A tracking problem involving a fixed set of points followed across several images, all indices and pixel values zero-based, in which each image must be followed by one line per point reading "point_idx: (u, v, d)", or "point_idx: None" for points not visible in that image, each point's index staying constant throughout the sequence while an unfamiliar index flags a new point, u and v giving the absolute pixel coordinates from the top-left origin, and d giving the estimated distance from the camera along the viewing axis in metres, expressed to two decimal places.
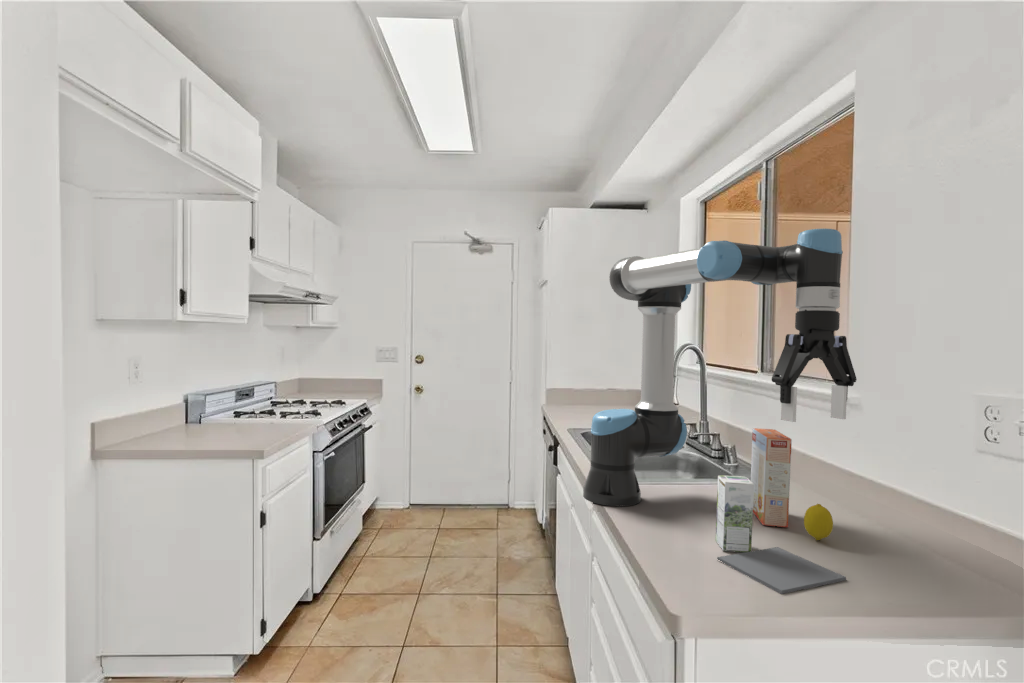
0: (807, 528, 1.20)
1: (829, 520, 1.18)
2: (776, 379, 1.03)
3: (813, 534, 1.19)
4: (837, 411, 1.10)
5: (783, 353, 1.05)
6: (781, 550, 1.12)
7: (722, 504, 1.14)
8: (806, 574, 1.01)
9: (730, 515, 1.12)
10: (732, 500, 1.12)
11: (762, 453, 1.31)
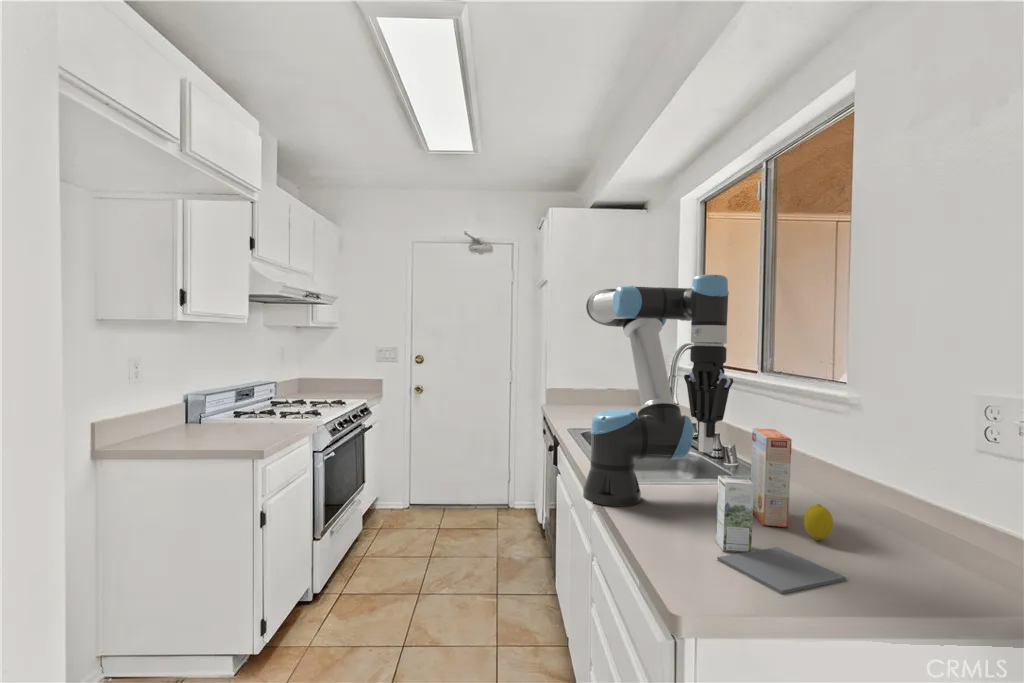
0: (807, 528, 1.20)
1: (829, 520, 1.18)
2: None
3: (813, 534, 1.19)
4: None
5: None
6: (781, 550, 1.12)
7: (722, 504, 1.14)
8: (806, 574, 1.01)
9: (730, 515, 1.12)
10: (732, 500, 1.12)
11: (762, 453, 1.31)
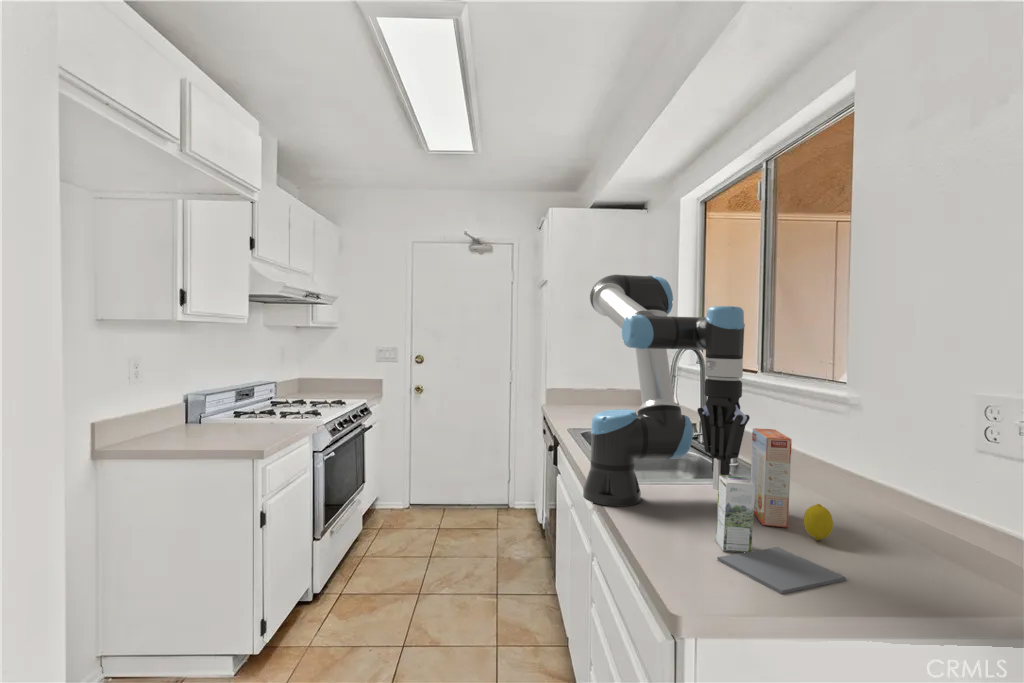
0: (807, 528, 1.20)
1: (829, 520, 1.18)
2: None
3: (813, 534, 1.19)
4: None
5: None
6: (781, 550, 1.12)
7: (723, 504, 1.13)
8: (806, 574, 1.01)
9: (731, 515, 1.12)
10: (733, 500, 1.12)
11: (762, 453, 1.31)
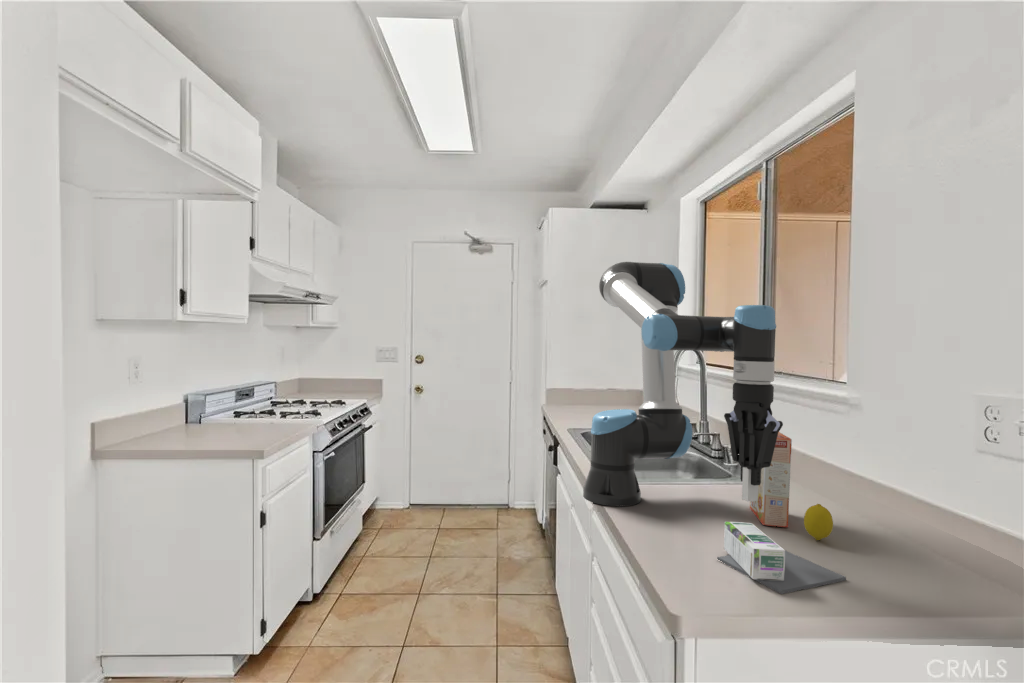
0: (807, 528, 1.20)
1: (829, 520, 1.18)
2: None
3: (813, 534, 1.19)
4: None
5: None
6: None
7: (741, 560, 1.03)
8: (806, 574, 1.01)
9: None
10: None
11: None
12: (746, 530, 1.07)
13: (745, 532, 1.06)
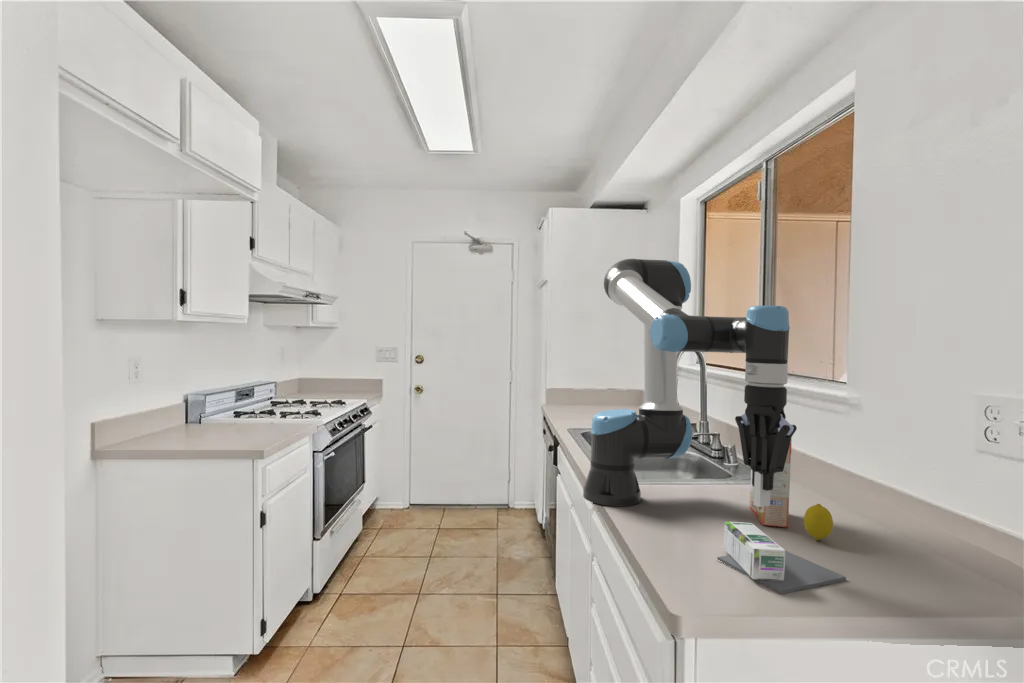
0: (807, 528, 1.20)
1: (829, 520, 1.18)
2: None
3: (813, 534, 1.19)
4: None
5: None
6: None
7: (741, 560, 1.03)
8: (806, 574, 1.01)
9: None
10: None
11: None
12: (746, 530, 1.07)
13: (746, 532, 1.06)
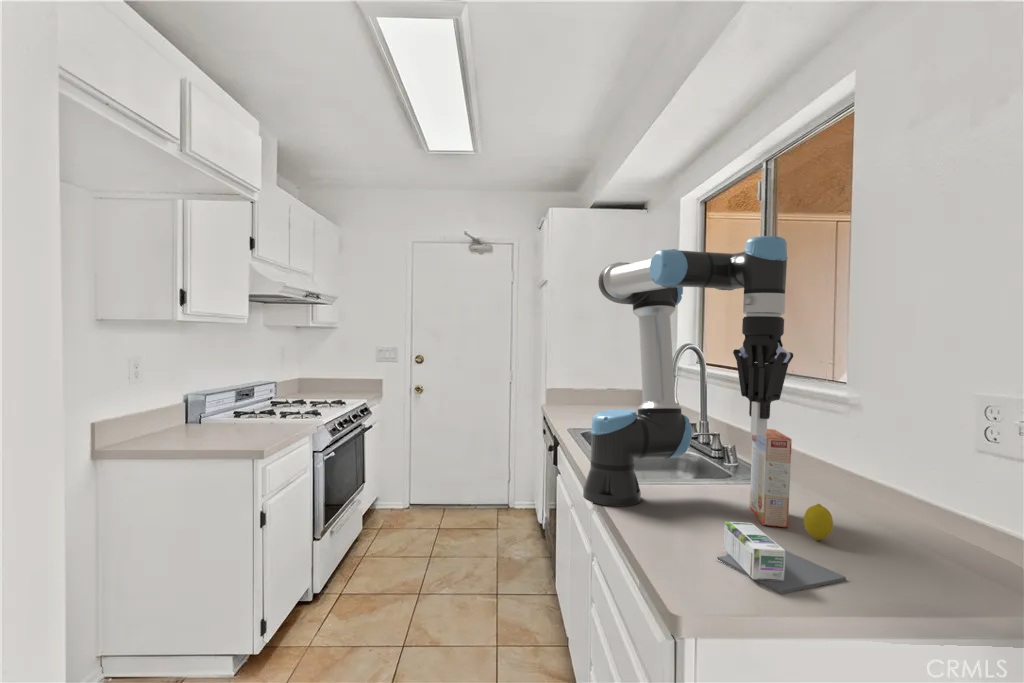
0: (807, 528, 1.20)
1: (829, 520, 1.18)
2: None
3: (813, 534, 1.19)
4: None
5: None
6: None
7: (741, 560, 1.03)
8: (806, 574, 1.01)
9: None
10: None
11: (762, 453, 1.31)
12: (746, 530, 1.07)
13: (746, 532, 1.06)
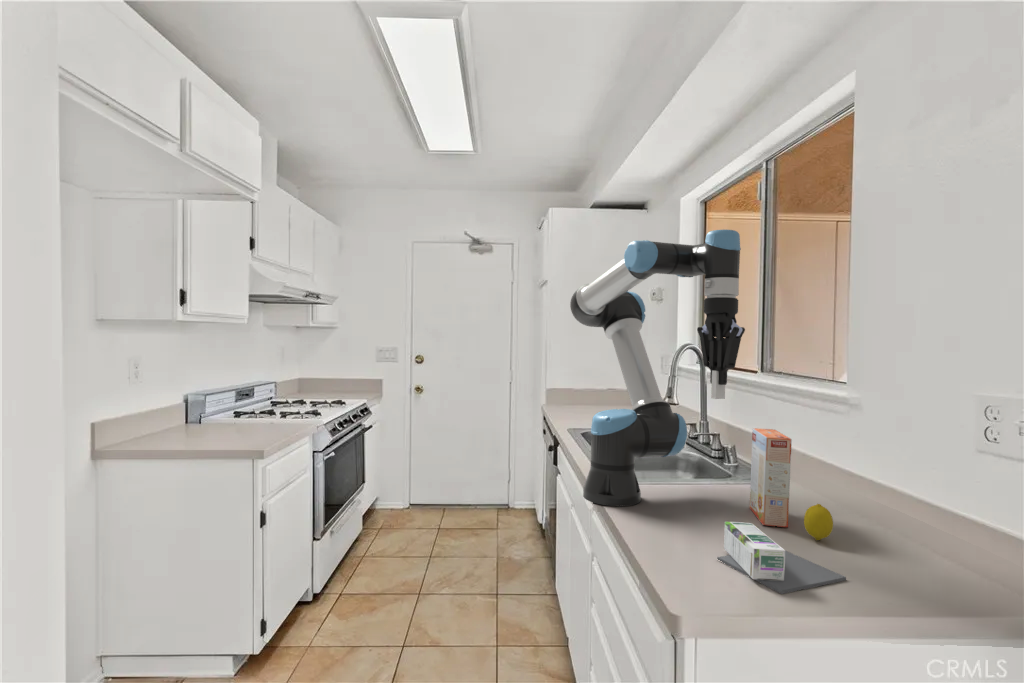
0: (807, 528, 1.20)
1: (829, 520, 1.18)
2: None
3: (813, 534, 1.19)
4: None
5: None
6: None
7: (741, 560, 1.03)
8: (806, 574, 1.01)
9: None
10: None
11: (762, 453, 1.31)
12: (746, 530, 1.07)
13: (746, 532, 1.06)
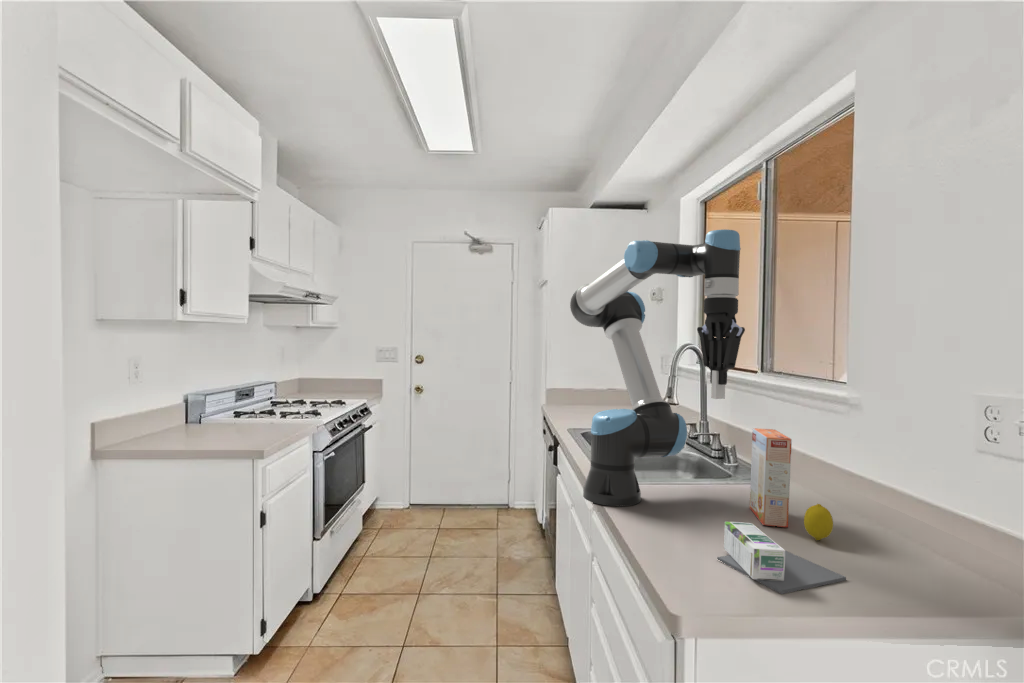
0: (807, 528, 1.20)
1: (829, 520, 1.18)
2: None
3: (813, 534, 1.19)
4: None
5: None
6: None
7: (741, 560, 1.03)
8: (806, 574, 1.01)
9: None
10: None
11: (762, 453, 1.31)
12: (746, 530, 1.07)
13: (746, 532, 1.06)
